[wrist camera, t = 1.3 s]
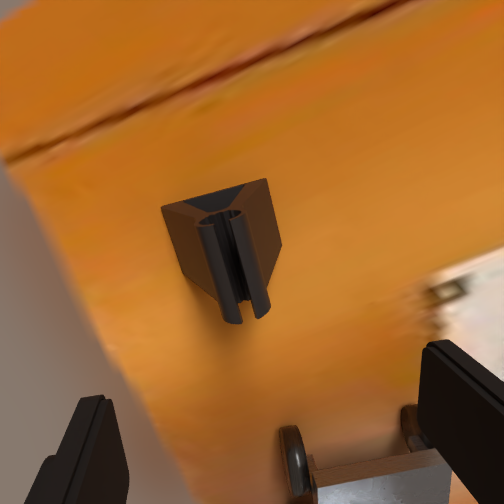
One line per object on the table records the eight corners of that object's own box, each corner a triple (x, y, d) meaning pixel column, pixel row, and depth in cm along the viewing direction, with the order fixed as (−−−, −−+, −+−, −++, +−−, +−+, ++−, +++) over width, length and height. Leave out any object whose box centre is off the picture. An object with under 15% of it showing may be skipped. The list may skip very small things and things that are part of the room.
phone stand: (182, 271, 32) (172, 344, 20) (160, 205, 30) (136, 245, 18) (281, 244, 32) (325, 300, 21) (266, 177, 30) (305, 199, 19)
